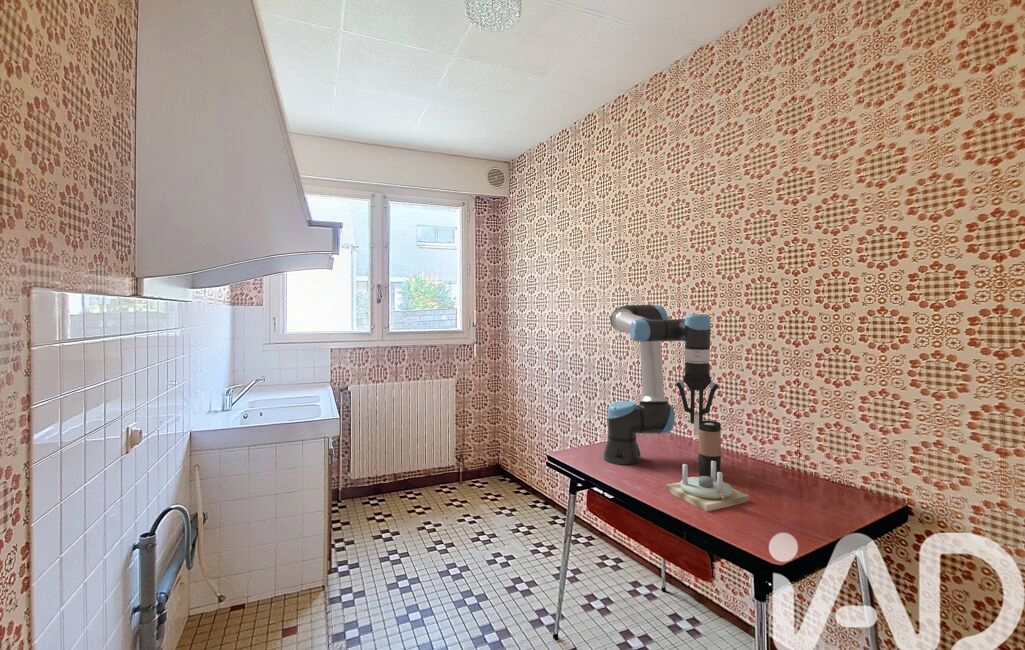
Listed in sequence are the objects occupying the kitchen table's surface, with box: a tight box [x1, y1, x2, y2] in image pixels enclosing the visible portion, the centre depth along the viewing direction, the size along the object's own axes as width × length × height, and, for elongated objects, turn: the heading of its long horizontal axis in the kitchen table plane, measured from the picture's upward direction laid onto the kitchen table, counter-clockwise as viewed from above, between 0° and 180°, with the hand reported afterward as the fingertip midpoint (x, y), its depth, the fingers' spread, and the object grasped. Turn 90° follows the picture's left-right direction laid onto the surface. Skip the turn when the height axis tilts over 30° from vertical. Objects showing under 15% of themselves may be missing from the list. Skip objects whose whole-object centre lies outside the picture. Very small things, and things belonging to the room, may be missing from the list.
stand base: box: [665, 481, 750, 513], centre depth 151 cm, size 18×18×3 cm
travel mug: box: [697, 420, 722, 479], centre depth 169 cm, size 8×8×20 cm
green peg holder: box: [679, 461, 734, 499], centre depth 151 cm, size 16×16×8 cm
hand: (696, 433), depth 150 cm, fingers closed
